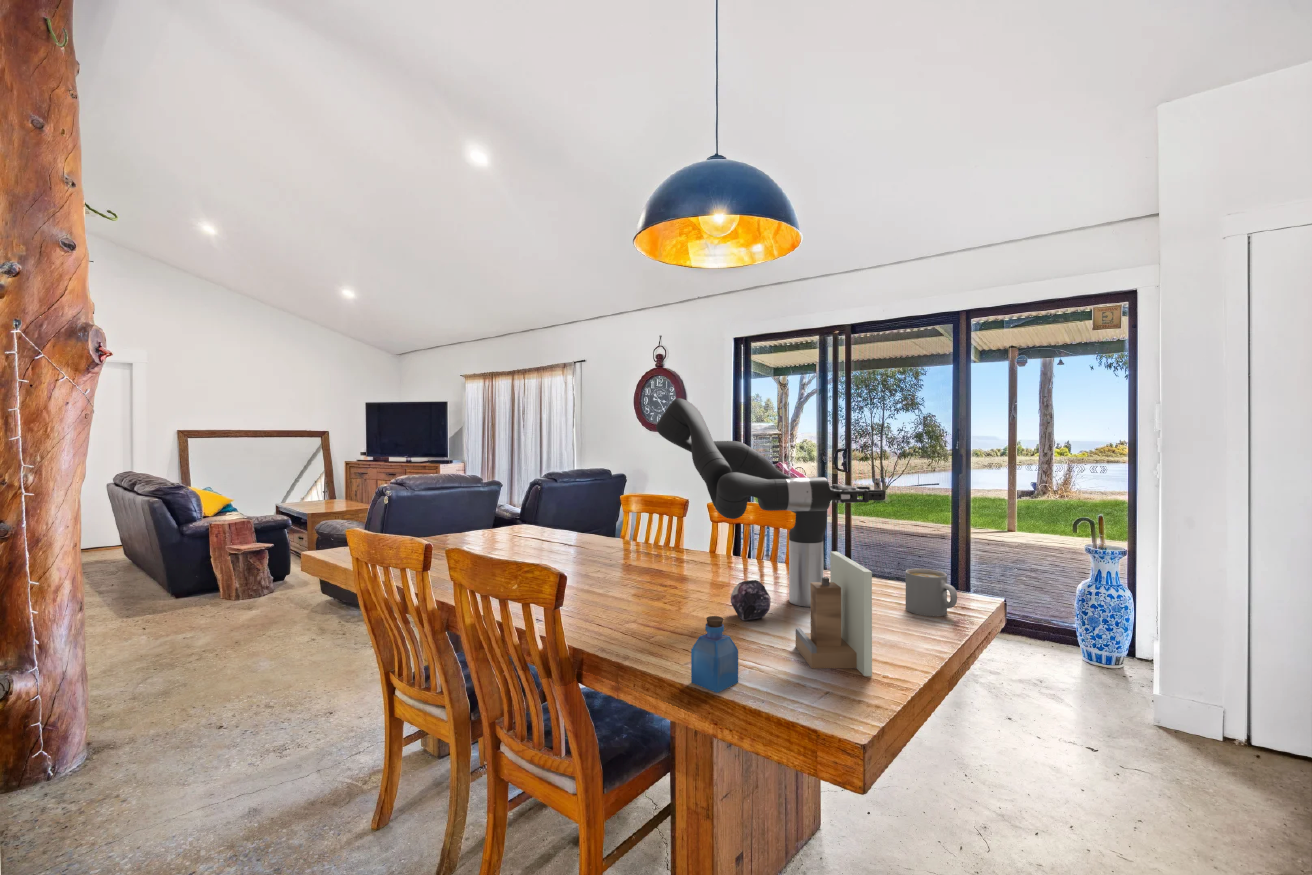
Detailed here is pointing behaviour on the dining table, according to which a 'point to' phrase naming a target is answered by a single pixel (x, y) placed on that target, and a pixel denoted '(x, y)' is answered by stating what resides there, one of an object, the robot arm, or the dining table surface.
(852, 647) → the cleat board
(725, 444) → the robot arm
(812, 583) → the knob board
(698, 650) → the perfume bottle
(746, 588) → the mineral specimen
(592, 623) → the dining table surface
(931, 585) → the coffee mug
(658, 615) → the dining table surface
